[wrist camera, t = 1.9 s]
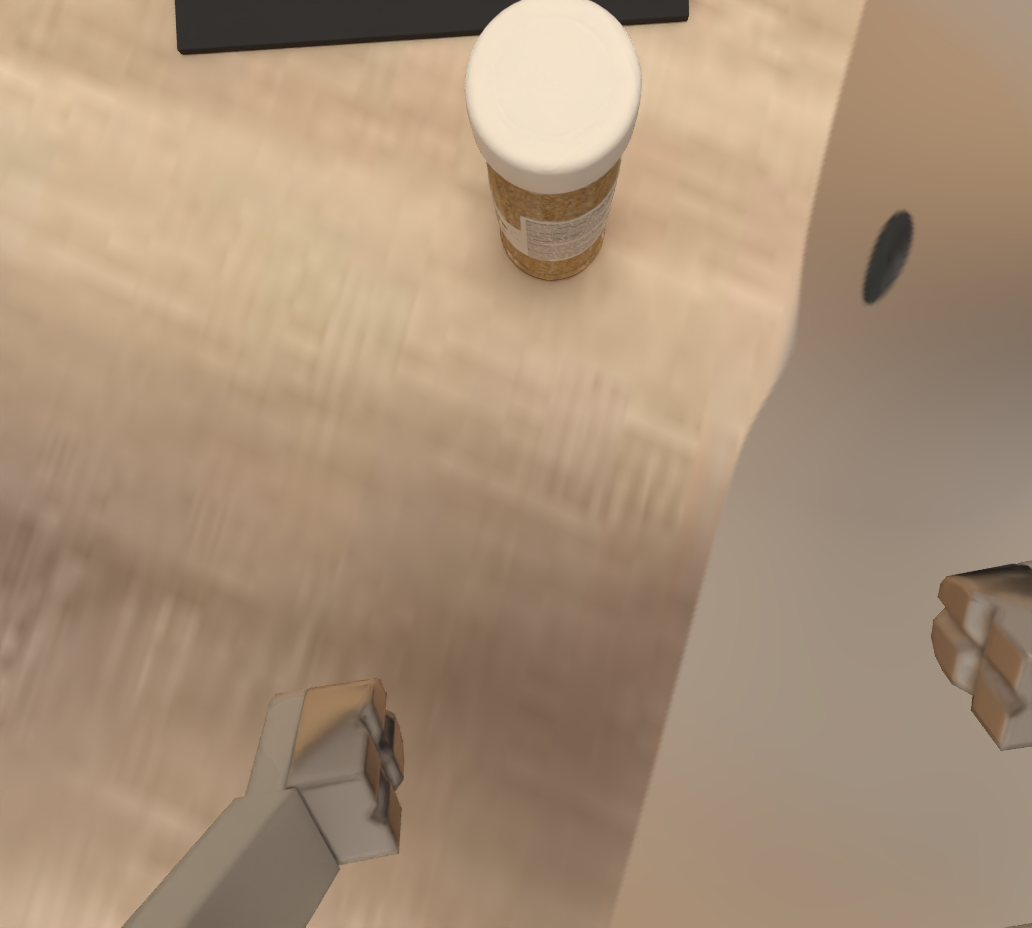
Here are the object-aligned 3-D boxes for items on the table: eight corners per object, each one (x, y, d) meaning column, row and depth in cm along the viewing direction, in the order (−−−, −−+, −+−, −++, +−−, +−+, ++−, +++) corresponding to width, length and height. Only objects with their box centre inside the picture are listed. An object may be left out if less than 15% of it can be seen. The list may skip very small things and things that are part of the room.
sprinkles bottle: (498, 180, 32) (457, -9, 19) (604, 173, 32) (640, -23, 18) (503, 286, 32) (466, 175, 19) (608, 280, 32) (648, 164, 18)
